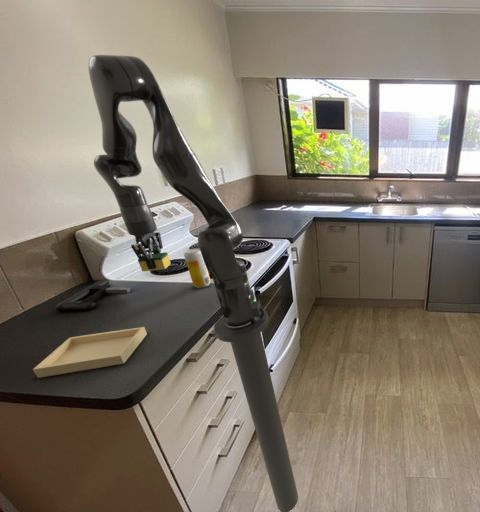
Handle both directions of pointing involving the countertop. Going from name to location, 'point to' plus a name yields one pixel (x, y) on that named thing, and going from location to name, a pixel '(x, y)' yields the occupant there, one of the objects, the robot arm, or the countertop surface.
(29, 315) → the countertop surface
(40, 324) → the countertop surface
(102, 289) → the door handle
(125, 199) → the robot arm
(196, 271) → the white and yellow cylinder
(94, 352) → the tray
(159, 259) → the sponge
